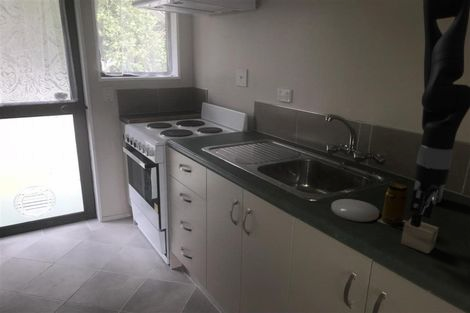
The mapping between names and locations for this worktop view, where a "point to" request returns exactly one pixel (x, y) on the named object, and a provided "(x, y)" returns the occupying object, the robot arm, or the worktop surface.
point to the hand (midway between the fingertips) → (420, 221)
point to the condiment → (394, 206)
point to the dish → (355, 210)
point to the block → (419, 236)
